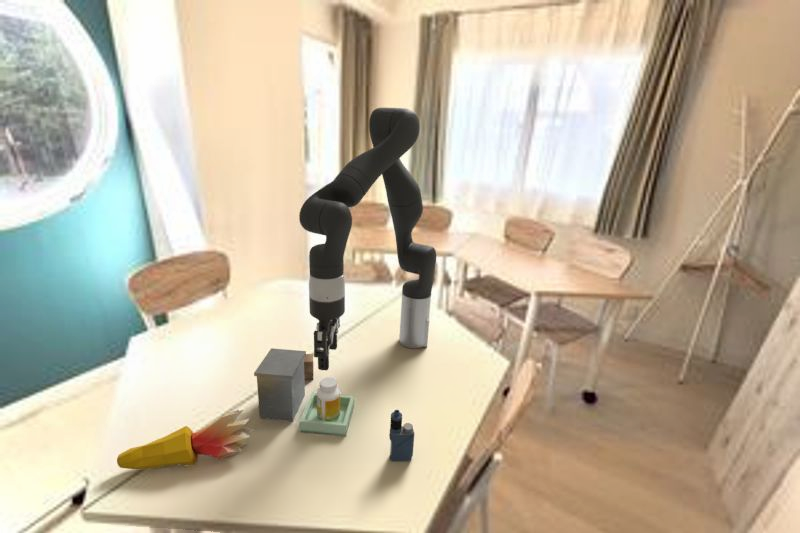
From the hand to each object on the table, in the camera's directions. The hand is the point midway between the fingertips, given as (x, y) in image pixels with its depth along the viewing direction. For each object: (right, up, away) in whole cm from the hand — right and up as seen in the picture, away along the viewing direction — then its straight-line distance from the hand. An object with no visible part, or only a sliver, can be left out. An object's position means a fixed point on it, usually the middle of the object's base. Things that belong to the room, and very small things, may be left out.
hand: (328, 358), depth 93 cm
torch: (-27, -19, -7) cm, 34 cm away
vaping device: (+16, -20, -5) cm, 27 cm away
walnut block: (-10, -10, +21) cm, 25 cm away
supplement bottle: (-1, -15, +5) cm, 16 cm away
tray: (-1, -16, +5) cm, 17 cm away
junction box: (-13, -14, +9) cm, 21 cm away
